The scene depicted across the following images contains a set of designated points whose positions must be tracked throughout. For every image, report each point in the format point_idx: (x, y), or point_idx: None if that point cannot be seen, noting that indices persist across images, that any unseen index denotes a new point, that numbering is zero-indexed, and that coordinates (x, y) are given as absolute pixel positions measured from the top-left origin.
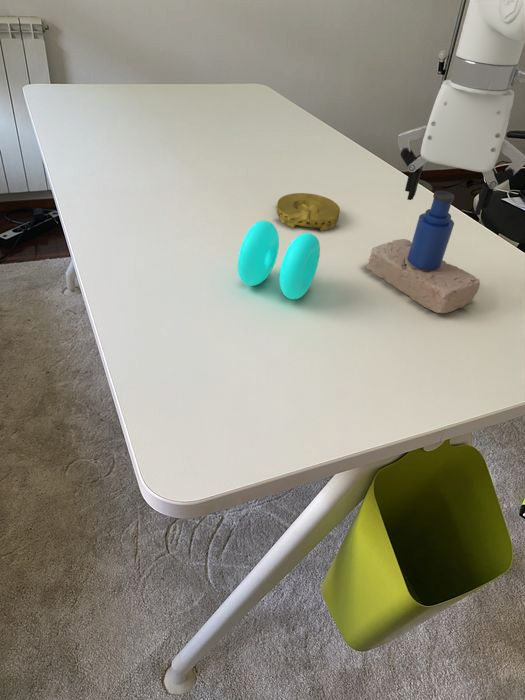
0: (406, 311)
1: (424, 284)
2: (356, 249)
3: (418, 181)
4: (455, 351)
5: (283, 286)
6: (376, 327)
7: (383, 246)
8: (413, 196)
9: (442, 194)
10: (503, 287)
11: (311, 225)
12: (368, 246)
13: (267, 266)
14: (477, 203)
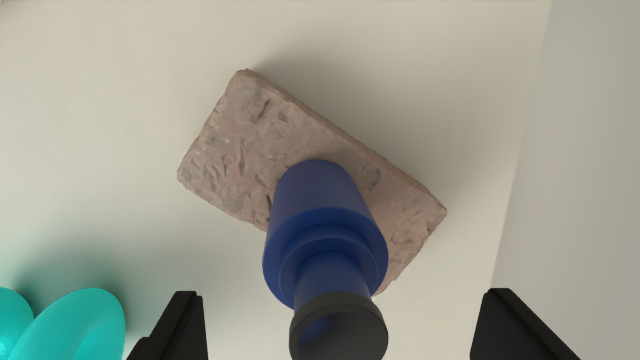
0: None
1: None
2: (132, 70)
3: (179, 347)
4: (394, 326)
5: None
6: (271, 328)
7: (199, 162)
8: (204, 355)
9: (330, 347)
10: (500, 81)
11: None
12: (154, 33)
13: (11, 346)
14: (493, 324)
